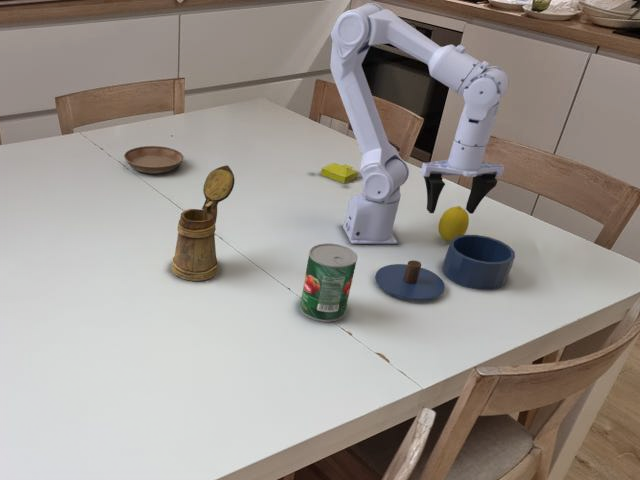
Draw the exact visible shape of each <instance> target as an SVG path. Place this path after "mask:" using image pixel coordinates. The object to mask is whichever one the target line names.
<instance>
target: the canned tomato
mask: <svg viewBox="0 0 640 480" xmlns="http://www.w3.org/2000/svg"><path fill="white" fill-rule="evenodd" d="M357 261H358V255H357V253H356V252H355V251H354V250H353V249H352V248H350V247H347V246H345V245H342V244H337V243H319V244H316V245H314V246H312V247H310V249H309V251H308V258H307V264H306V268H305V269H306V270H305V275H304V282H303V286H302V287H303V288H302V293H301V300H300V303H299V309H300V312H301V314H303V315H304V316H305V317H307V318H309V319H311V320H313V321H317V322H323V323H331V322H332V323H333V322H337V321H340V320H341V319H342V318H344V316H345V314H346V309H347V305H348V302H349V296H350V292H351V288H352V284H353V283H352V282H353V278H354V274H355V270H356V265H357Z"/></svg>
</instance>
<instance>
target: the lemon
mask: <svg viewBox="0 0 640 480" xmlns="http://www.w3.org/2000/svg"><path fill="white" fill-rule="evenodd" d="M469 224H470V218H469V214H468V211H467V210H466V209H465V208H462V206H459V205H457V206H452V207H450V208H448V209H446V210H445V211H444V212H443V214H442V215H441V217H440V219H439V221H438V225H437V226H438V227H437V231H438V234H439V236H440V237H441V238H442V239H443V240H445V242H446V243H448V244H449V243H450V241H451V240H452V239H453V238H455V237H457V236H461V235H466V233H467V231H468V228H469Z"/></svg>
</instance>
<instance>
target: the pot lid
mask: <svg viewBox="0 0 640 480" xmlns="http://www.w3.org/2000/svg"><path fill="white" fill-rule="evenodd" d="M374 281H375V283H376V285H377V286H378V287H379V288H380V289H381V290H383V291H384V292H386V293H387V294H388V295H391V296H393V297H396V298H399V299H404V300H407V301H414V302H424V301H425V302H426V301H431V300H435V299H437V298H439V297H441V296H442V295H443V294H444V292H445V289H446V285H445V282H444V280H443V279H442V278H441V277H440V276H439V275H438V274H436V273H435V272H433V271H431V270H429V269H426V268H424V267H422V263H421V262H420V261H419V260H418V261H417V260H413V259H412V260H408V261H407V264H406V263H395V264H388V265H385V266H382V267H381V268H379V269H378V270H377V271H376V272H375V275H374Z"/></svg>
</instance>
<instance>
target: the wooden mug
mask: <svg viewBox="0 0 640 480" xmlns="http://www.w3.org/2000/svg"><path fill="white" fill-rule="evenodd" d="M235 181H236V180H235V174H234V172H233V171H232V169H231V167H230V166H229V165H228V164H225V165H222V166H219V167H217V168H215V169H213V170H211V171H210V172H209V174H208V175H207V176H206V178H205V180H204V184H203V189H202V192H203V196H204V198H205V200H204V203H203V205H202V207H201V209H198V208H188V209H186V210H184V211H182V212H181V213H180V216H179V217H180V218H179V220H178V221H177V237H176V246H175V251H174V256H173V257H172V261H171V267H170V269H171V272H172V273H173V274H174V276H176V277H178V278H180V279H182V280H185V281H192V282H193V281H194V282H199V281H207V280H210V279H212V278H213V277H215V276H216V275H217V274H218V272H219V261H218V257H217V251H216V237H215V236H216V234H215V232H216V229H217V227H216V223H217V218H218V205H219V203H220V202H222V201H224V200H226V199H227V198H229V196H230V195H231V193H232V192H233V189H234V186H235Z"/></svg>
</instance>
